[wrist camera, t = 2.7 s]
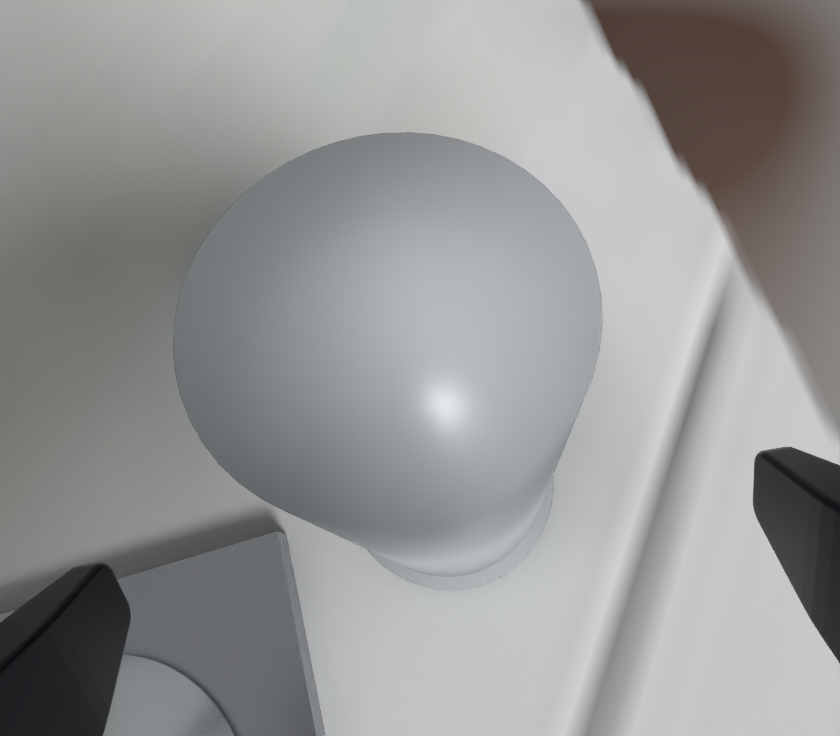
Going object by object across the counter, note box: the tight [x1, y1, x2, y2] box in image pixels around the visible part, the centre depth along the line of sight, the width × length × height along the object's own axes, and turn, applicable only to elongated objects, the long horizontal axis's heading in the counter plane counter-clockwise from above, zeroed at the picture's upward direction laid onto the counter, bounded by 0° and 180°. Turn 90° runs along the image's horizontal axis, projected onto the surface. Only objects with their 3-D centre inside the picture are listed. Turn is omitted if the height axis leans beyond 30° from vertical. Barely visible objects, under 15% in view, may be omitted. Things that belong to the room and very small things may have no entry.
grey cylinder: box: [173, 132, 603, 590], centre depth 13 cm, size 6×6×12 cm
